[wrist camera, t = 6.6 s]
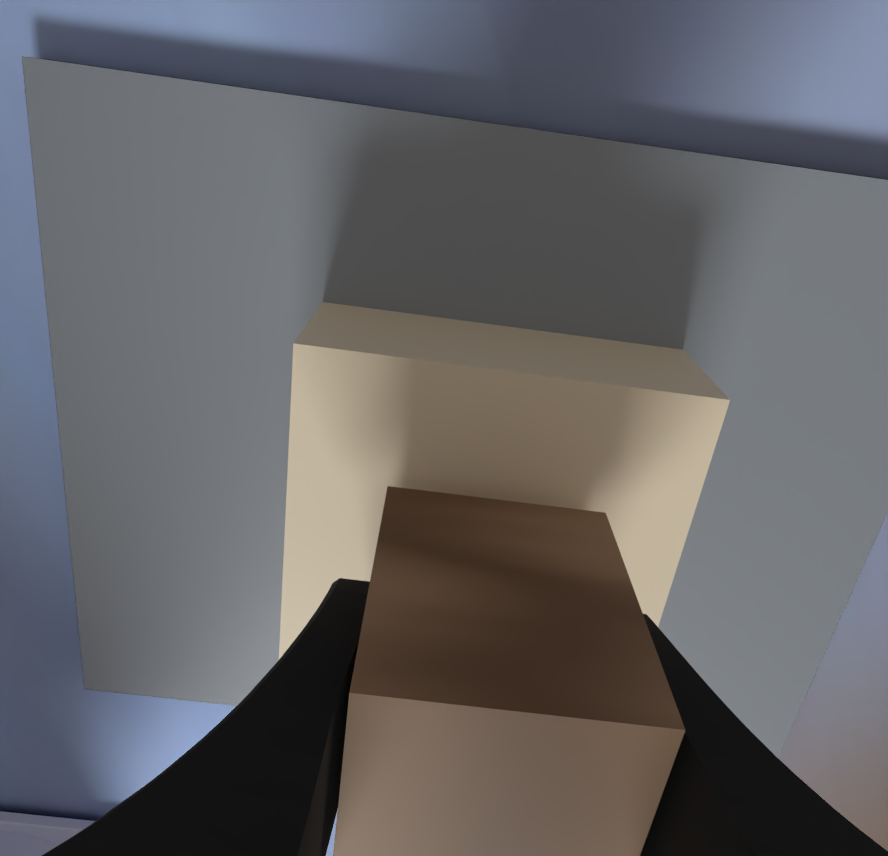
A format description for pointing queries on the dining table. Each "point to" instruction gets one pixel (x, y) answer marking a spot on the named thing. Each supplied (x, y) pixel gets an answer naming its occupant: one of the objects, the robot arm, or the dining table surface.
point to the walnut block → (502, 688)
